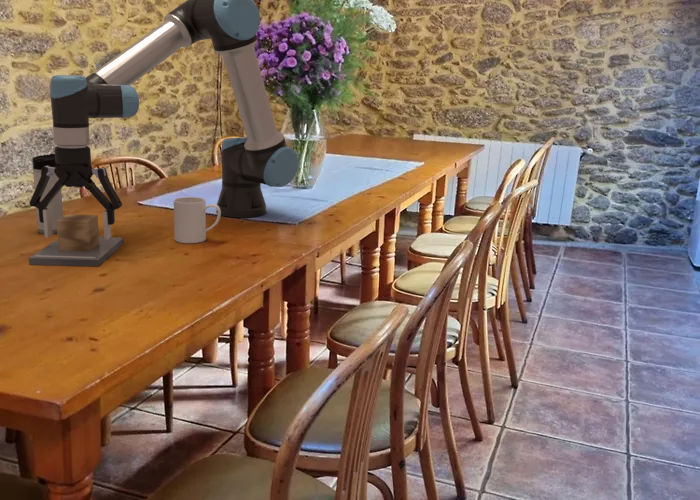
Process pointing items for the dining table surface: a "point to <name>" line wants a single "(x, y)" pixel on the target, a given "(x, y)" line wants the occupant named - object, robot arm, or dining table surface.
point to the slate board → (77, 254)
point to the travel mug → (57, 200)
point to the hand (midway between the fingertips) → (78, 237)
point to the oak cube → (77, 232)
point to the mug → (191, 219)
